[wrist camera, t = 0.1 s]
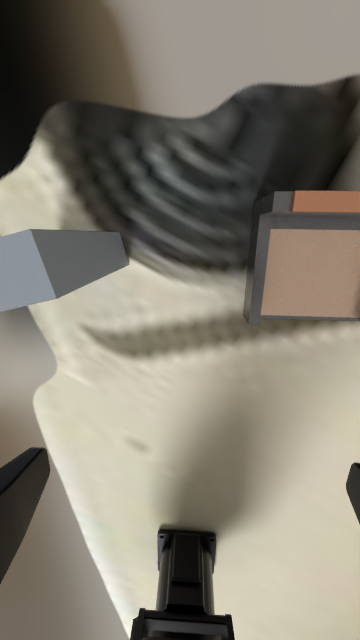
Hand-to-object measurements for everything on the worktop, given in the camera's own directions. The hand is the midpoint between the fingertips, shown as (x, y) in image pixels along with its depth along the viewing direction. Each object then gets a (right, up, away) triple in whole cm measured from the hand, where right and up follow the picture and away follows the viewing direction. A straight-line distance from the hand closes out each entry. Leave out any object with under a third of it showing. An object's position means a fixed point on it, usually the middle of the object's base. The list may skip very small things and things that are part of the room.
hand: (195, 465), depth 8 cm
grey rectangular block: (-7, +9, +13) cm, 17 cm away
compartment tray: (+13, +8, +12) cm, 19 cm away
